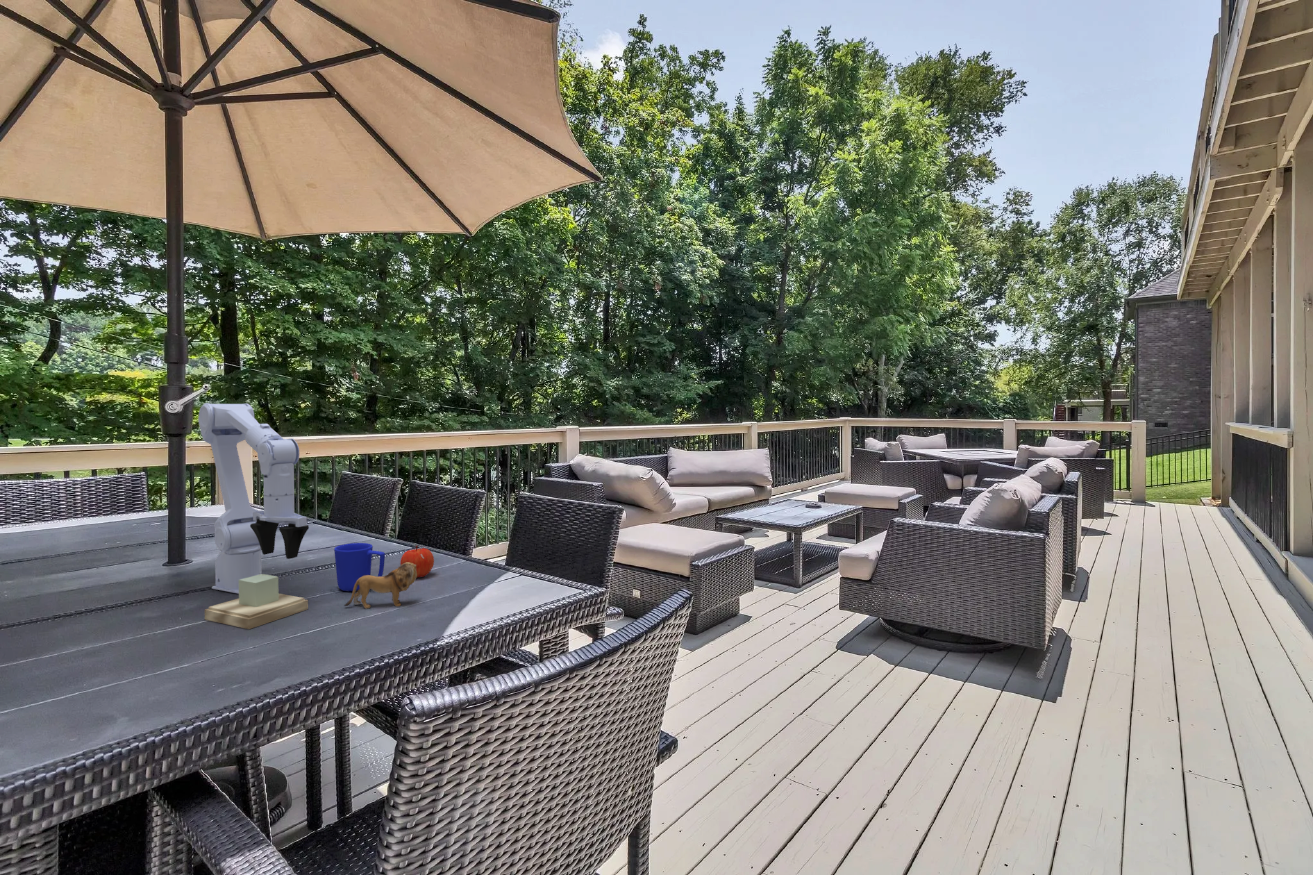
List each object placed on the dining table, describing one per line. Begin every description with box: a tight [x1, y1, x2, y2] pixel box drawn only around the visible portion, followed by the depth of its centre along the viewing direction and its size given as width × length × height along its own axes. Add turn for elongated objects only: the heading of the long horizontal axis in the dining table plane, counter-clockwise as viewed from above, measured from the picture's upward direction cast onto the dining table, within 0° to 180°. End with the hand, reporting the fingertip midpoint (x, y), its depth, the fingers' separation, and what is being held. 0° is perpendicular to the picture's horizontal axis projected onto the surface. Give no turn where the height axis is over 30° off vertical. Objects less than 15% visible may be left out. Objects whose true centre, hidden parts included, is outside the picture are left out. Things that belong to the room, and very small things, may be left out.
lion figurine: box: [344, 562, 417, 609], centre depth 138 cm, size 15×5×9 cm, turn 113°
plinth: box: [204, 592, 309, 630], centre depth 131 cm, size 13×13×2 cm
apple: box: [399, 545, 435, 579], centre depth 161 cm, size 8×8×8 cm
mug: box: [333, 542, 386, 592], centre depth 149 cm, size 8×12×10 cm
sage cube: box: [238, 573, 280, 607], centre depth 131 cm, size 5×5×5 cm
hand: (279, 555), depth 139 cm, fingers open, 7 cm apart
